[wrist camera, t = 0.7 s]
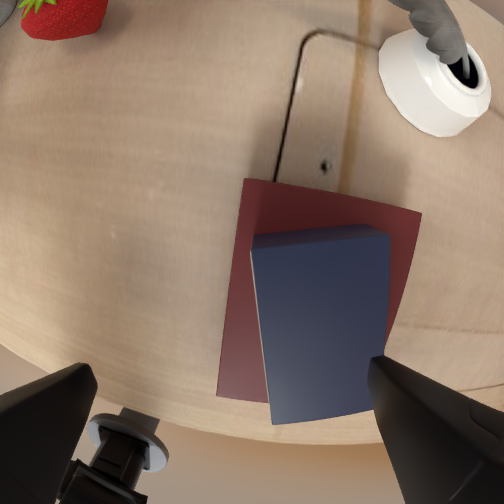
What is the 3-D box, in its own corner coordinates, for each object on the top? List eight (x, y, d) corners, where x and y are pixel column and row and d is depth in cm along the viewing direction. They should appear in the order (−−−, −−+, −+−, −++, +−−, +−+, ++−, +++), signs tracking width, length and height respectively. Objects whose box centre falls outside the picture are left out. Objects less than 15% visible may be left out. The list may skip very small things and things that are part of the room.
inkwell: (461, 159, 17) (556, 157, 7) (242, 59, 16) (225, -33, 6) (474, 71, 15) (548, 42, 5) (281, -23, 14) (288, -108, 4)
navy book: (361, 377, 18) (375, 409, 15) (270, 390, 18) (271, 425, 15) (365, 223, 15) (390, 233, 12) (252, 234, 16) (249, 248, 12)
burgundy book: (350, 384, 22) (358, 407, 19) (221, 372, 22) (216, 396, 19) (401, 208, 18) (422, 213, 15) (246, 178, 18) (243, 177, 15)
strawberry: (71, 15, 15) (9, -26, 5) (140, -6, 14) (89, -71, 5) (55, 66, 16) (-22, 35, 6) (125, 47, 16) (53, -12, 6)
